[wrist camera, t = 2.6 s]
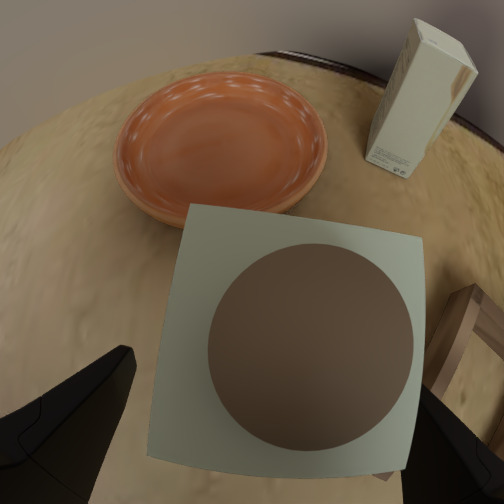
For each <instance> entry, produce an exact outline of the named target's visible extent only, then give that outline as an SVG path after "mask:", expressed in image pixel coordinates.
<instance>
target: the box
mask: <svg viewBox="0 0 504 504" xmlns="http://www.w3.org/2000/svg"><path fill="white" fill-rule="evenodd" d="M472 330H473V331H474V332H475V333H476V334H477V335H478V336H479V337H480V338H481V339H482V340H483V341H485V342H486V343H487V344H488V345H489V346H490V347H491V348H492V349H493V350H494V351H495V352H496V353H497V354H498V355H499V356H500V357H501V358H502V359H503V360H504V313H503V311H502V310H501V309H500V308H499V307H498V306H497V305H496V304H495V303H494V302H493V301H492V300H491V299H490V298H489V297H488V296H487V295H486V294H485V293H484V292H483V291H482V290H481V289H480V288H479V287H478V286H477V285H476V284H472V285H470V286H468V287H465V288H463V289H461V290H458V291H456V292H454V293H451V295H450V298H449V300H448V303H447V305H446V308H445V310H444V313H443V315H442V317H441V320H440V322H439V324H438V327H437V329H436V331H435V333H434V335H433V338H432V340H431V342H430V344H429V346H428V348H427V350H426V352H425V354H424V361H423V372H422V383H423V384H424V385H425V386H426V387H427V388H428V389H429V390H430V391H431V392H432V393H433V394H434V395H435V396H436V397H437V398H438V399H439V400H440V401H441V399H442V397H443V395H444V393H445V391H446V389H447V387H448V385H449V383H450V381H451V379H452V377H453V375H454V373H455V371H456V369H457V366H458V364H459V362H460V360H461V357H462V355H463V353H464V350H465V348H466V345H467V343H468V340H469V338H470V335H471V332H472ZM488 448H489V449H490V450H491V451H492V452H493V453H495V454H496V455H497V456H498V457H499V458H500V459H502V460H503V461H504V415H503V417H502V419H501V421H500V424H499V426H498V428H497V430H496V432H495V434H494V436H493V438H492V440H491V442H490V443H489V445H488ZM393 472H394V471H391V472H385V473H378V474H372V475H373V476H375V477H377V478H380V479H382V480H384V481H387V480H388V479H389V477H390V476H391V475H392V474H393Z"/></svg>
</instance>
